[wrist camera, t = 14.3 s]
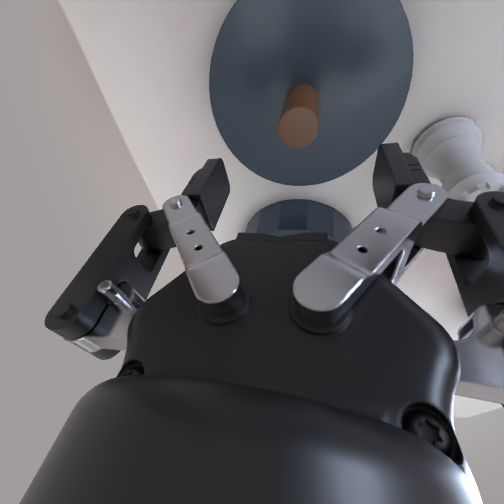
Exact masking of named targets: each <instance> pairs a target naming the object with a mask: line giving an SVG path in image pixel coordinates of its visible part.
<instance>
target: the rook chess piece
mask: <svg viewBox="0 0 504 504" xmlns="http://www.w3.org/2000/svg"><path fill="white" fill-rule="evenodd" d="M483 139H484V137H483V134H482V132H481V130H480V129H479V127H478V126H477V124H476V123H475V121H473V120H471V119H468V118H466V117H452V118H448V119H445V120H443V121H440V122H437V123H435V124H434V125H433V126H431V127H430V128H428V129H427V130H426V131H424V132H423V133H422V135H421V136H420V137H419V138H418V139H417V141H416V142H415V144H414V147H413V150H412V155H414V156H415V157H417V158H418V160H419V162H420V165H421V166H422V168H423V170H424V172H425V174H426V175H427V176H430V177H434V178H437V179H439V180H440V181H441V182H442V184H443V185H442V188H444V189H445V190H446V191H447V192H448V198H451V199H456V200H463V201H470V202H474V201H475V199H476V197H477V196H478V195H479V194H481V193H483V192H488V191H501V192H504V173H501V172H499V171H496V170H495V169H494V167H493V166H492V165H491V164H489V163H486V162H484V161H483V159H482V157H481V151H482V148H483Z"/></svg>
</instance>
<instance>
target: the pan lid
mask: <svg viewBox="0 0 504 504" xmlns="http://www.w3.org/2000/svg"><path fill="white" fill-rule="evenodd" d="M412 67H413V46H412V37H411V32H410V27H409V23H408V20H407V17H406V15H405V12H404V9H403V7H402V4H401V3H400V1H399V0H237V1H236V3H235V4H234V6H233V7H232V9H231V10H230V12H229V13H228V15H227V17H226V19H225V21H224V23H223V25H222V27H221V29H220V32H219V34H218V37H217V40H216V43H215V46H214V50H213V54H212V59H211V66H210V77H209V90H210V100H211V106H212V111H213V115H214V118H215V121H216V124H217V127H218V129H219V132H220V134H221V136H222V138H223V140H224V141H225V143H226V145H227V146H228V148H229V149H230V150H231V152H232V153H233V154H234V156H235V157H236V158H237V159H238V160H239V161H240V162H241V163H242V164H243V165H245V166H246V167H247V168H248V169H250V170H251V171H253V172H254V173H256V174H257V175H259V176H261V177H263V178H265V179H268V180H270V181H273V182H276V183H281V184H285V185H293V186H305V185H314V184H319V183H324V182H327V181H330V180H333V179H335V178H338V177H340V176H342V175H344V174H346V173H348V172H349V171H351V170H353V169H354V168H356V167H357V166H358V165H360V164H361V163H363V162H364V161H365V160H366V159H367V158H368V157H369V156H371V155H372V154H373V153H374V152H375V151H376V150H377V148H378V147H379V145H380V144H382V143H383V141H384V140H385V139H386V137H387V136H388V135H389V133H390V132H391V130H392V128H393V127H394V125H395V123H396V122H397V120H398V118H399V116H400V113H401V111H402V109H403V106H404V104H405V101H406V98H407V94H408V91H409V87H410V82H411V77H412Z"/></svg>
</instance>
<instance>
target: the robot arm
mask: <svg viewBox="0 0 504 504" xmlns="http://www.w3.org/2000/svg"><path fill="white" fill-rule="evenodd" d="M373 190H374V194H375V198H376V202H377V206H378V207H377V208H376V209H375V210H374V211H373V212H372V213H371V214H370V215H368V216H367V217H366V218H365V219H364V220H363V221H362V222H361V223H360V224H359V225H358V226H357V227H356V228H355V229H354V230H352V231H351V232H350V233H349V234H348V235H347V236H346V237H345V238H344V239H343V240H342V241H341V242H338V241H334V240H330V239H328V232H311V233H299V234H294V235H288V236H283V237H278V236H273V235H268V234H262V233H238V235H237V238H236V239H235V240H231V241H228V242H226V243H223V244H221V245H219V244H218V242H217V241H216V239H215V237H214V236H213V234H212V232H211V231H214V229H215V227H216V224H217V222H218V220H219V217H220V215H221V212H222V210H223V208H224V205H225V203H226V200H227V198H228V196H229V193H230V184H229V180H228V177H227V173H226V170H225V166H224V163H223V160H222V159H221V158H218V159H208V160H207V161H206V163H205V165H204V166H203V168H202V169H200V170H198V171H197V172H196V173H195V174H194V175H193V177H192V178H191V180H190V181H189V183H188V185H187V186H186V188H185V189H184V191H183V192H182V194H181V195H178V196H174V197H172V198H170V199H168V200H167V201H166V202H165V203H164V204H163V209H162V210H158V211H154V212H149V210H148V208H147V207H146V206H144V205H137V206H133V207H131V208H129V209H127V210H126V211H125V212H124V213H123V214H122V215H121V216H120V218H119V219H118V220H117V222H116V223H115V224H114V226H113V227H112V228H111V230H110V231H109V232H108V234H107V235H106V236H105V238H104V239H103V240H102V242H101V243H100V244H99V246H98V247H97V248H96V250H95V251H94V252H93V254H92V255H91V256H90V258H89V259H88V260H87V262H86V263H85V264H84V266H83V267H82V268H81V270H80V271H79V272H78V274H77V275H76V276H75V278H74V279H73V280H72V282H71V283H70V284H69V286H68V287H67V288H66V289H65V291H64V292H63V294H62V295H61V296H60V298H59V299H58V300H57V301H56V303H55V304H54V306H53V307H52V308H51V310H50V311H49V312H48V314H47V316H46V318H45V326H46V327H47V328H48V329H50V330H51V331H53V332H55V333H57V334H58V335H60V336H61V337H63V338H64V340H66V341H68V342H69V343H71V344H73V345H74V346H76V347H78V348H80V349H81V350H83V351H85V352H88V353H90V354H92V355H94V356H95V357H97V358H99V359H101V360H105V359H110V358H112V357H113V356H115V355H116V354H118V353H119V352H120V351H121V350H126V354H125V358H124V362H123V365H122V368H121V370H120V372H119V374H118V375H117V377H116V378H113V379H110V380H107V381H105V382H102V383H100V384H99V385H97V386H95V387H94V388H92V389H91V390H90V391H88V392H87V393H86V394H85V395H84V396H83V397H82V398H81V399H80V400H79V402H78V403H77V404H76V406H75V407H74V409H73V410H72V412H71V414H70V416H69V418H68V419H67V421H66V423H65V425H64V426H63V428H62V430H61V432H60V433H59V435H58V437H57V439H56V441H55V442H54V444H53V446H52V447H51V449H50V451H49V453H48V455H47V456H46V458H45V460H44V461H43V463H42V465H41V467H40V468H39V470H38V472H37V474H36V476H35V477H34V479H33V481H32V483H31V484H30V486H29V488H28V490H27V491H26V493H25V495H24V497H23V499H22V500H21V502H20V504H483V503H482V500H481V497H480V494H479V491H478V488H477V485H476V483H475V480H474V478H473V475H472V473H471V471H470V468H469V466H468V464H467V461H466V459H465V457H464V455H463V452H462V450H461V447H460V445H459V442H458V439H457V436H456V433H455V428H454V423H453V401H454V395H458V396H464V397H469V398H474V399H479V400H485V401H490V402H495V403H500V404H501V405H502V406H503V407H504V192H501V191H488V192H483V193H481V194H479V195H478V196H477V197H476V199H475V201H474V202H470V201H463V200H456V199H451V198H448V192H447V191H446V190H445V189H444V188H442V187H441V186H438V185H435V184H431V183H430V181H429V179H428V177H427V175H426V174H425V172H424V170H423V168H422V166H421V165H420V162H419V160H418V158H417V157H415V156H414V155H412V154H410V153H402V151H401V148H400V146H399V144H398V143H390V144H380V145H379V148H378V152H377V157H376V162H375V168H374V173H373ZM137 243H139V244H140V246H141V247H142V249H141V251H140V253H139V254H138V256H137V258H136V257H135V254H134V248H135V246H136V244H137ZM173 247H177V249H178V251H179V254H180V256H181V259H182V261H183V264H184V266H185V271H184V272H183V273H182V274H180V275H179V276H178V277H177V278H175V279H174V280H172V281H171V282H170V283H168V284H167V285H166V286H164V287H163V288H162V289H161V290H159V291H158V292H157V293H155V294H154V295H153V296H151V297H150V298H149V299H147V297H148V295H149V292H150V290H151V288H152V286H153V284H154V282H155V280H156V278H157V275H158V273H159V271H160V269H161V267H162V265H163V263H164V261H165V259H166V257H167V254H168V252H169V250H170V248H173ZM424 248H426V249H431V250H435V251H440V252H444V253H446V255H447V258H448V261H449V264H450V266H451V269H452V272H453V275H454V278H455V281H456V283H457V286H458V289H459V292H460V295H461V298H462V300H463V303H464V306H465V309H466V312H467V315H468V319H467V320H466V321H465V322H464V323H463V324H462V325H461V326H460V328H459V330H458V340H457V341H453V340H452V338H451V337H450V335H449V334H448V332H447V331H446V330H445V329H444V328H443V326H441V325H440V324H439V323H438V322H437V321H436V320H435V319H434V318H433V317H431V316H430V315H429V314H428V313H427V312H426V311H424V310H423V309H422V308H421V307H420V306H419V305H417V304H416V303H415V302H414V301H413V300H412V299H410V298H409V297H408V296H407V295H406V294H405V293H403V292H402V291H401V290H400V289H399V288H398V287H396V284H397V283H398V281H399V279H400V277H401V276H402V275H403V273H404V272H405V271H406V270H407V268H408V267H409V266H410V265H411V264H412V262H413V261H414V260H415V259H416V258H417V256H418V255H419V254H420V253H421V252H422V250H423V249H424ZM146 299H147V300H146Z"/></svg>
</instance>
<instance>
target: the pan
mask: <svg viewBox="0 0 504 504" xmlns="http://www.w3.org/2000/svg"><path fill="white" fill-rule="evenodd" d="M352 230H353V229H352V227H351V225H350V223H349V222H348V220H347V219H346V218H345V217H344V216H343V215H342V214H341V213H339V212H338V211H336V210H335V209H333V208H331V207H329V206H327V205H324V204H322V203H318V202H314V201H308V200H287V201H282V202H278V203H275V204H272V205H270V206H267V207H265V208H264V209H262V210H261V211H259V212H258V213H257V214H256V215H255V216H254V217H253V218H252V219H251V221H250V222H249V223H248V227H247V230H246V233H262V234H268V235H273V236H278V237H283V236H288V235H294V234H299V233H311V232H328V239H330V240H334V241H338V242H341V241H342V240H343V239H344V238H345V237H346V236H347V235H348V234H349V233H350V232H351V231H352Z"/></svg>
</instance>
